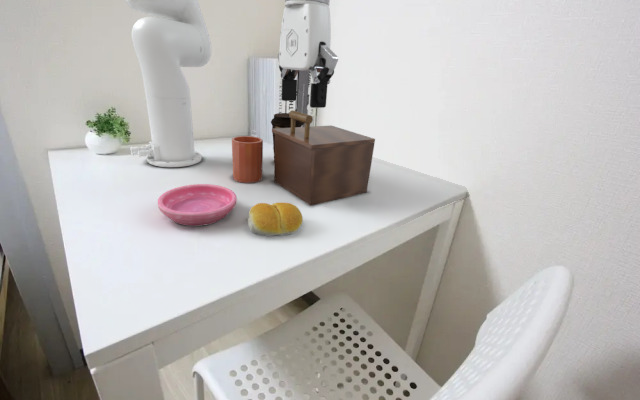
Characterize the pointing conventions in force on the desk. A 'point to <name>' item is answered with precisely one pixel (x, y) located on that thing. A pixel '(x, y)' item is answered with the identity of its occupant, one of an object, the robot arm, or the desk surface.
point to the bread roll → (274, 219)
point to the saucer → (197, 204)
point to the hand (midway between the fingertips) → (302, 103)
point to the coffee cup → (282, 124)
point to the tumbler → (247, 159)
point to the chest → (322, 170)
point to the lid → (319, 134)
